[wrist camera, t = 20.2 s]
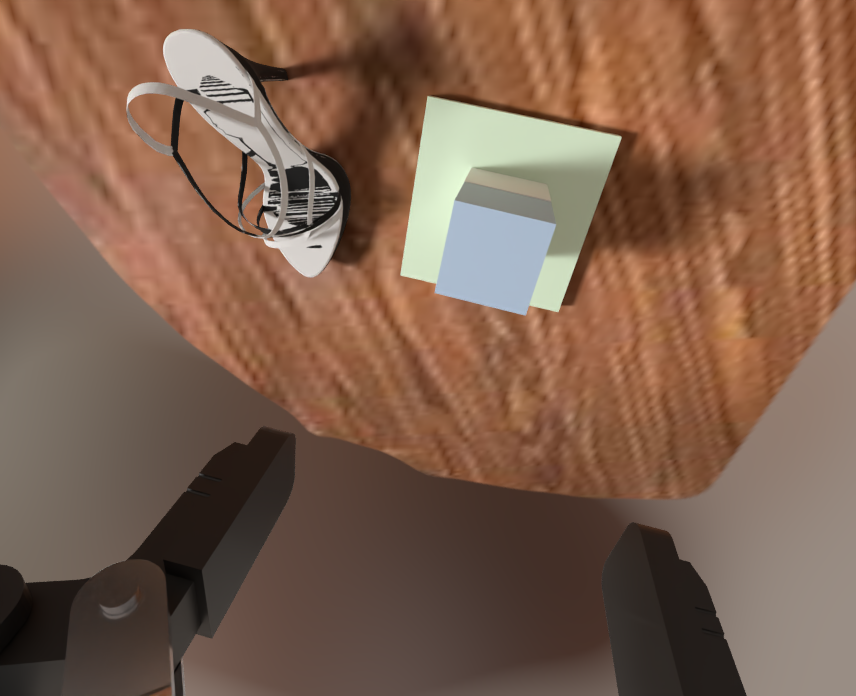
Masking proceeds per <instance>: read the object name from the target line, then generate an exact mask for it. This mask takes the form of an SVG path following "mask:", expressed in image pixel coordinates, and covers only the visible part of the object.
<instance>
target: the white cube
mask: <svg viewBox="0 0 856 696" xmlns="http://www.w3.org/2000/svg"><path fill="white" fill-rule="evenodd" d="M464 182H468V183H473V184H477V185H481V186H485V187H490V188H494V189H498V190H503V191H507V192H511V193H515V194H520V195H524V196H528V197H532V198H537V199H541V200H545V201H549V202H551V198H550V194H549V189H548V185H547V184H544V183H540V182H535V181H531V180H526V179H522V178H517V177H513V176H508V175H504V174H499V173H494V172H490V171H485V170H481V169H476V168H471V170H470V171H469V173H468V175H467V177H466V179H465V181H464Z"/></svg>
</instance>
